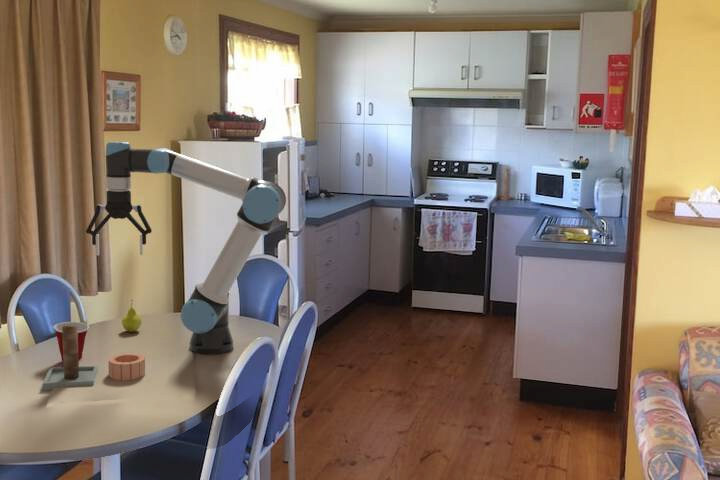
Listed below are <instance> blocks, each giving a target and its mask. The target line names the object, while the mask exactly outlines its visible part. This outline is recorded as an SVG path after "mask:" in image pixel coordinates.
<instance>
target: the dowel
mask: <svg viewBox="0 0 720 480" xmlns="http://www.w3.org/2000/svg"><path fill="white" fill-rule="evenodd" d="M62 335H63V361H62V363H63V362H64V363H63V367H64V379H67V380H72V379H76V378H78V377H79V365H80V363H79V360H78V331H77V325H76V324H66V325H63V326H62Z"/></svg>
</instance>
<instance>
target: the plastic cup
mask: <svg viewBox="0 0 720 480" xmlns="http://www.w3.org/2000/svg"><path fill="white" fill-rule="evenodd" d="M66 324H76V325H77V331H78V361H79V360H81V359H82V358H83V351H84V347H85V341H86V336H87V333H88V330H89V329H90V325H88V324H87V323H84V322H81V321H80V322H78V321H65V322H60V323H59V322H58V323H56V324H55V325H53V330H54V331H55V335H56V338H57V343H58V350H59V352H60V357H61V361H62V363H63V364H64V362H63V335H62V326H63V325H66Z"/></svg>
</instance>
